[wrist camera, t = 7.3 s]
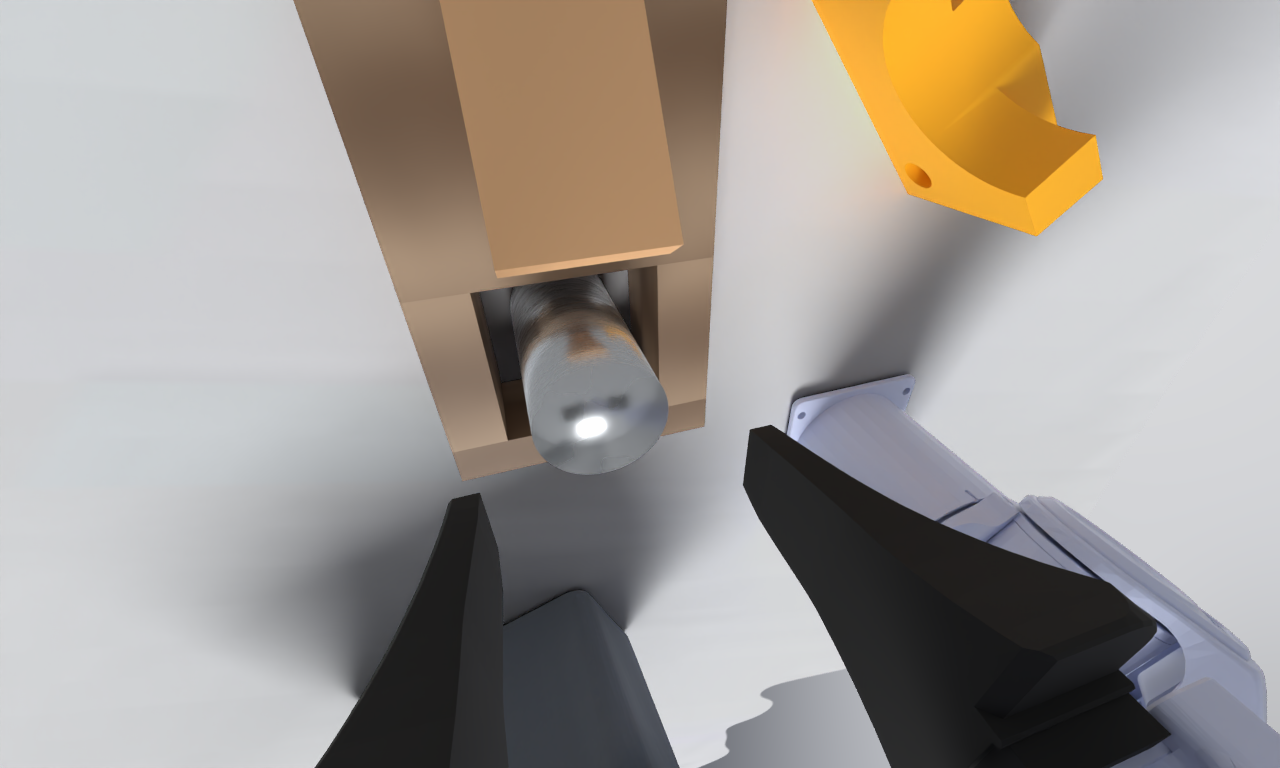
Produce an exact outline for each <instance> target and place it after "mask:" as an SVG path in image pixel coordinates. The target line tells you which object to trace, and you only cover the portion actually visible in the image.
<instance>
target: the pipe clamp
mask: <svg viewBox="0 0 1280 768" xmlns="http://www.w3.org/2000/svg"><path fill="white" fill-rule="evenodd" d="M812 2H813V4H814V6H815V8H816V10H817V12H818V14H819V16H820V18H821V20H822V22H823V24H824V26H825V28H826V30H827V32H828V34H829V36H830V38H831V40H832V42H833V44H834V46H835V48H836V50H837V52H838V54H839V56H840V58H841V60H842V62H843V64H844V66H845V68H846V70H847V72H848V74H849V76H850V78H851V80H852V82H853V84H854V86H855V88H856V90H857V92H858V94H859V96H860V98H861V100H862V102H863V104H864V106H865V108H866V110H867V112H868V114H869V116H870V118H871V120H872V122H873V124H874V126H875V128H876V130H877V132H878V134H879V136H880V138H881V140H882V142H883V144H884V147H885V149H886V151H887V153H888V155H889V157H890V159H891V161H892V163H893V165H894V167H895V169H896V171H897V173H898V175H899V177H900V179H901V181H902V183H903V185H904V187H905V189H906V191H907V193H908V194H910V195H913V196H916V197H919V198H922V199H925V200H928V201H931V202H934V203H937V204H940V205H943V206H946V207H949V208H952V209H955V210H958V211H961V212H964V213H967V214H970V215H973V216H976V217H979V218H983V219H986V220H989V221H992V222H995V223H998V224H1001V225H1004V226H1007V227H1010V228H1013V229H1016V230H1019V231H1022V232H1025V233H1028V234H1031V235H1034V236H1038V235H1039V234H1040V233H1041V232H1042V231H1043V230H1045V229H1046V228H1047V227H1048V226H1049V225H1050V224H1051V223H1053V222H1054V221H1055V220H1056V219H1057V218H1058V217H1060V216H1061V215H1062V214H1063V213H1064V212H1065V211H1066V210H1068V209H1069V208H1070V207H1071V206H1072V205H1073V204H1075V203H1076V202H1077V201H1078V200H1079V199H1080V198H1082V197H1083V196H1084V195H1085V194H1086V193H1087V192H1088V191H1090V190H1091V189H1092V188H1093V187H1094V186H1095V185H1097V184H1098V183H1099V182H1100V181H1101V180H1102V179H1103V176H1102V170H1101V164H1100V158H1099V152H1098V146H1097V140H1096V135H1093V134H1087V133H1081V132H1078V131H1074V130H1070V129H1066V128H1064V127H1061V126H1058V125H1057V122H1056V118H1055V113H1054V109H1053V104H1052V100H1051V95H1050V91H1049V86H1048V82H1047V77H1046V72H1045V68H1044V63H1043V59H1042V54H1041V50H1040V45H1039V44H1038V43H1037V42H1036V41H1035V40H1034V39H1033V38H1032V36H1031V35H1030V34H1029V33H1028V32H1027V31H1026V29H1025V28H1024V26H1023V25H1022V24H1021V22H1020V21H1019V19H1018V18H1017V16H1016V14H1015V12H1014V11H1013V9H1012V7H1011V5H1010V3H1009V0H812Z"/></svg>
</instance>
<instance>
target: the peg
mask: <svg viewBox="0 0 1280 768" xmlns="http://www.w3.org/2000/svg"><path fill="white" fill-rule="evenodd" d="M510 311H511V317H512V323H513V329H514V335H515V341H516V346H517V352H518V358H519V364H520V370H521V376H522V382H523V387H524V393H525V399H526V405H527V411H528V417H529V423H530V428H531V434H532V439H533V443H534V445H535V447H536V449H537V451H538V452H539V454H540V455H541V456H542V457H543V458H544V459H545V460H546V461H547V462H548V463H550V464H551V465H553V466H554V467H556V468H558V469H560V470H563V471H566V472H570V473H574V474H583V475H593V474H602V473H607V472H611V471H614V470H617V469H620V468H622V467H624V466H627V465H629V464H631V463H632V462H634V461H636V460H637V459H639V458H640V457H641V456H643V455H644V454H645V453H646V452H647V451H649V450H650V448H651V447H652V446H653V445H654V444H655V443H656V441H657V440H658V439H659V437H660V436H661V434H662V432H663V430H664V428H665V425H666V422H667V419H668V400H667V396H666V393H665V391H664V389H663V387H662V385H661V384H660V382H659V380H658V378H657V377H656V375H655V373H654V372H653V370H652V368H651V366H650V365H649V363H648V361H647V359H646V358H645V356H644V354H643V353H642V351H641V349H640V347H639V346H638V344H637V342H636V340H635V339H634V337H633V335H632V334H631V332H630V330H629V328H628V327H627V325H626V323H625V321H624V320H623V318H622V316H621V315H620V313H619V311H618V309H617V308H616V306H615V304H614V302H613V301H612V299H611V297H610V296H609V294H608V292H607V290H606V289H605V287H604V285H603V283H602V282H601V280H600V278H599V277H598V276H597V274H596V275H589V276H582V277H576V278H569V279H562V280H555V281H549V282H542V283H535V284H528V285H522V286H515V287H514V288H513V291H512V294H511V298H510Z"/></svg>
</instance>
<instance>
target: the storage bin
mask: <svg viewBox="0 0 1280 768" xmlns="http://www.w3.org/2000/svg"><path fill="white" fill-rule="evenodd" d="M503 705H504V720H505V731H506V743H507V754H508V764H509V768H679V765H678V763H677V760H676V758H675V755H674V753H673V750H672V747H671V745H670V742H669V740H668V737H667V735H666V732H665V730H664V727H663V725H662V722H661V720H660V717H659V715H658V712H657V709H656V707H655V704H654V702H653V699H652V697H651V694H650V692H649V689H648V687H647V684H646V681H645V679H644V676H643V674H642V671H641V668H640V666H639V663H638V661H637V658H636V656H635V653H634V651H633V648H632V646H631V643H630V641H629V639H628V636H627V635H626V634H625V633H624V632H623V630H622V629H621V628H620V627H619V626H618V625H617V624H616V623H615V622H614V621H613V620H612V619H611V618H610V617H609V616H608V614H607V613H606V612H605V611H604V610H603V609H602V608H601V607H600V605H599V604H598V603H597V602H596V601H595V600H594V598H593V597H592V596H591V595H590V594H589V593H588V592H586V591H582V590H576V591H571V592H568V593H566V594H564V595H562V596H560V597H558V598H556V599H554V600H552V601H550V602H548V603H546V604H545V605H543V606H541V607H539V608H537V609H535V610H533V611H531V612H529V613H527V614H526V615H524V616H522V617H520V618H518V619H516V620H514V621H512V622H510V623H508V624H507V625H505V626H503ZM351 712H352V711H351Z"/></svg>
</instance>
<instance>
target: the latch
mask: <svg viewBox="0 0 1280 768" xmlns="http://www.w3.org/2000/svg"><path fill="white" fill-rule="evenodd" d="M440 5H441V10H442V15H443V20H444V25H445V30H446V35H447V40H448V45H449V50H450V54H451V59H452V64H453V69H454V74H455V79H456V84H457V89H458V94H459V99H460V103H461V108H462V113H463V118H464V123H465V128H466V133H467V138H468V143H469V148H470V152H471V157H472V162H473V167H474V172H475V177H476V182H477V187H478V192H479V197H480V202H481V206H482V211H483V216H484V221H485V226H486V231H487V236H488V241H489V246H490V251H491V255H492V260H493V265H494V270H495V273H496V276H497V278H504V277H511V276H518V275H525V274H532V273H539V272H546V271H553V270H560V269H567V268H574V267H581V266H588V265H595V264H602V263H609V262H616V261H623V260H630V259H637V258H644V257H651V256H658V255H664V254H671V253H672V252H674V251H675V250H676V249H678V248H679V247H681V246H682V245H684V243H683V237H682V231H681V225H680V218H679V212H678V206H677V200H676V194H675V188H674V181H673V175H672V169H671V163H670V157H669V151H668V144H667V138H666V132H665V126H664V120H663V114H662V107H661V101H660V95H659V89H658V83H657V77H656V70H655V64H654V58H653V52H652V46H651V40H650V33H649V27H648V21H647V15H646V9H645V3H644V0H440Z"/></svg>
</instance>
